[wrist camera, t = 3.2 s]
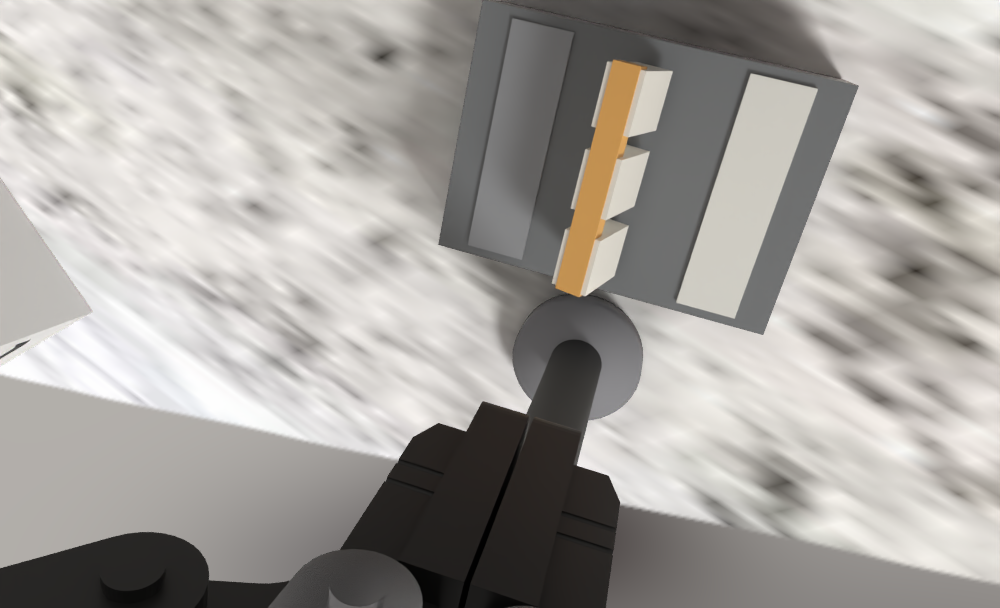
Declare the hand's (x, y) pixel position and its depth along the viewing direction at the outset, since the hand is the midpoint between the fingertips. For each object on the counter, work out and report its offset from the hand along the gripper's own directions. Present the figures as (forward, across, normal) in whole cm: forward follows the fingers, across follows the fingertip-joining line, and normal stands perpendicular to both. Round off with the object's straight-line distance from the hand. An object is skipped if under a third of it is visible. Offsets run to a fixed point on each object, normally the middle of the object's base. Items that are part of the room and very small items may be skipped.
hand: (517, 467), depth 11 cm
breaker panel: (+23, 0, 0) cm, 23 cm away
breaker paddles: (+20, 0, 0) cm, 20 cm away
